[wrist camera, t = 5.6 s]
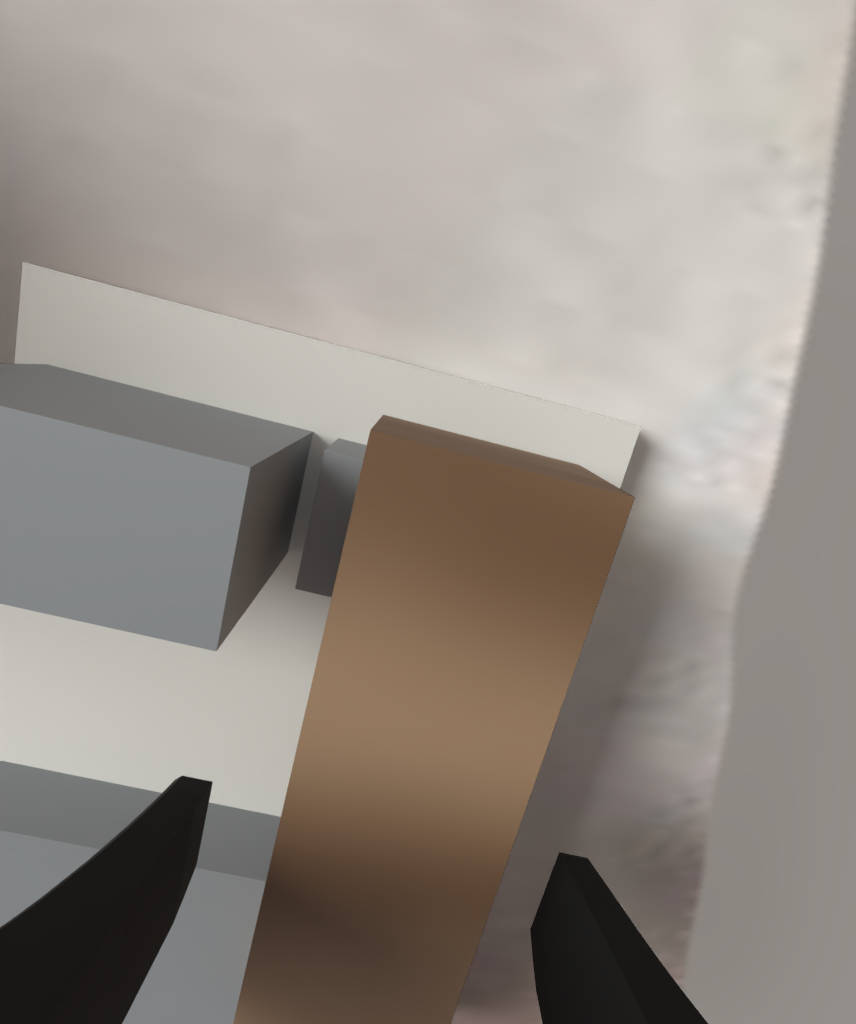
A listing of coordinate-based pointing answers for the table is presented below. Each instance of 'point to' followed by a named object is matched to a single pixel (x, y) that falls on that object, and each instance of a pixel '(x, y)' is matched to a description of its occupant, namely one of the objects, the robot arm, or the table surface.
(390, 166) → the table surface
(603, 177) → the table surface
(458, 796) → the walnut bar
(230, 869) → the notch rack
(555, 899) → the robot arm
